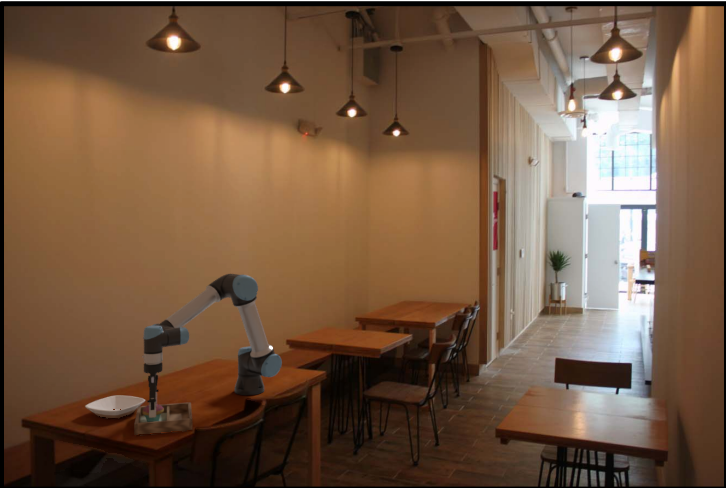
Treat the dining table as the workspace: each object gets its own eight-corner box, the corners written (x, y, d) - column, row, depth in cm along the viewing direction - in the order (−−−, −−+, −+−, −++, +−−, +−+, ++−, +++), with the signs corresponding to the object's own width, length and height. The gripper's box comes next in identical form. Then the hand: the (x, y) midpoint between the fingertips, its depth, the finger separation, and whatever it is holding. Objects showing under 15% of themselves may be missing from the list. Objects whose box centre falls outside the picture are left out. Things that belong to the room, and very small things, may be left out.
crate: (190, 412, 265) (190, 402, 264) (192, 430, 241) (192, 419, 241) (138, 417, 258) (138, 406, 258) (134, 436, 234) (134, 424, 234)
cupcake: (138, 422, 246) (137, 394, 246) (152, 417, 254) (152, 389, 254) (154, 425, 243) (153, 396, 243) (168, 419, 251) (167, 391, 251)
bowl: (78, 418, 256) (78, 406, 256) (115, 404, 276) (115, 393, 276) (116, 424, 248) (116, 412, 248) (151, 410, 268) (151, 398, 268)
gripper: (145, 356, 258) (145, 404, 259) (142, 369, 235) (142, 422, 235) (163, 355, 260) (163, 403, 261) (161, 368, 237) (161, 420, 237)
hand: (153, 412), depth 248 cm, fingers open, 13 cm apart
